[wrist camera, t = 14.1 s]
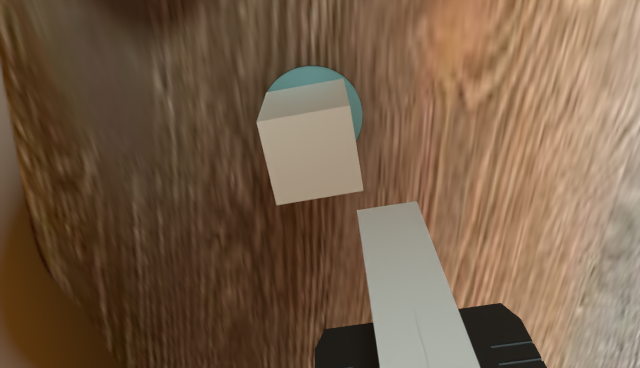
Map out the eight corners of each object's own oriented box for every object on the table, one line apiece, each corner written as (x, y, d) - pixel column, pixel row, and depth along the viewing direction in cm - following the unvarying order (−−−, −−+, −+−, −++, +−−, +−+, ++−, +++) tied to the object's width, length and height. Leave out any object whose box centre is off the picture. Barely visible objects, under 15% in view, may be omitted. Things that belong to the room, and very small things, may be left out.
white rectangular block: (266, 92, 35) (256, 122, 29) (343, 78, 34) (349, 105, 28) (282, 163, 37) (276, 205, 31) (355, 151, 36) (363, 190, 30)
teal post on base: (251, 75, 35) (237, 103, 29) (354, 56, 35) (363, 80, 28) (273, 169, 38) (265, 213, 32) (368, 153, 37) (379, 194, 31)
